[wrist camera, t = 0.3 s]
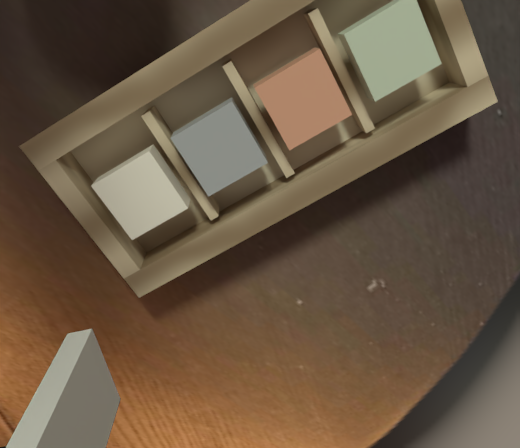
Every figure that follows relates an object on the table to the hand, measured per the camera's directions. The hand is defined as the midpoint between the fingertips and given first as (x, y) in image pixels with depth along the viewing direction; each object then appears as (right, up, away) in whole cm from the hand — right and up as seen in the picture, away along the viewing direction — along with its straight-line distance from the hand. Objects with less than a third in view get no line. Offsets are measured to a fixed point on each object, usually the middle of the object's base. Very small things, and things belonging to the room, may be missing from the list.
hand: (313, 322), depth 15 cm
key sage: (+7, +15, +18) cm, 24 cm away
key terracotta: (+1, +12, +19) cm, 22 cm away
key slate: (-4, +9, +20) cm, 22 cm away
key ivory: (-10, +6, +21) cm, 24 cm away
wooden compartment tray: (-2, +12, +23) cm, 26 cm away
